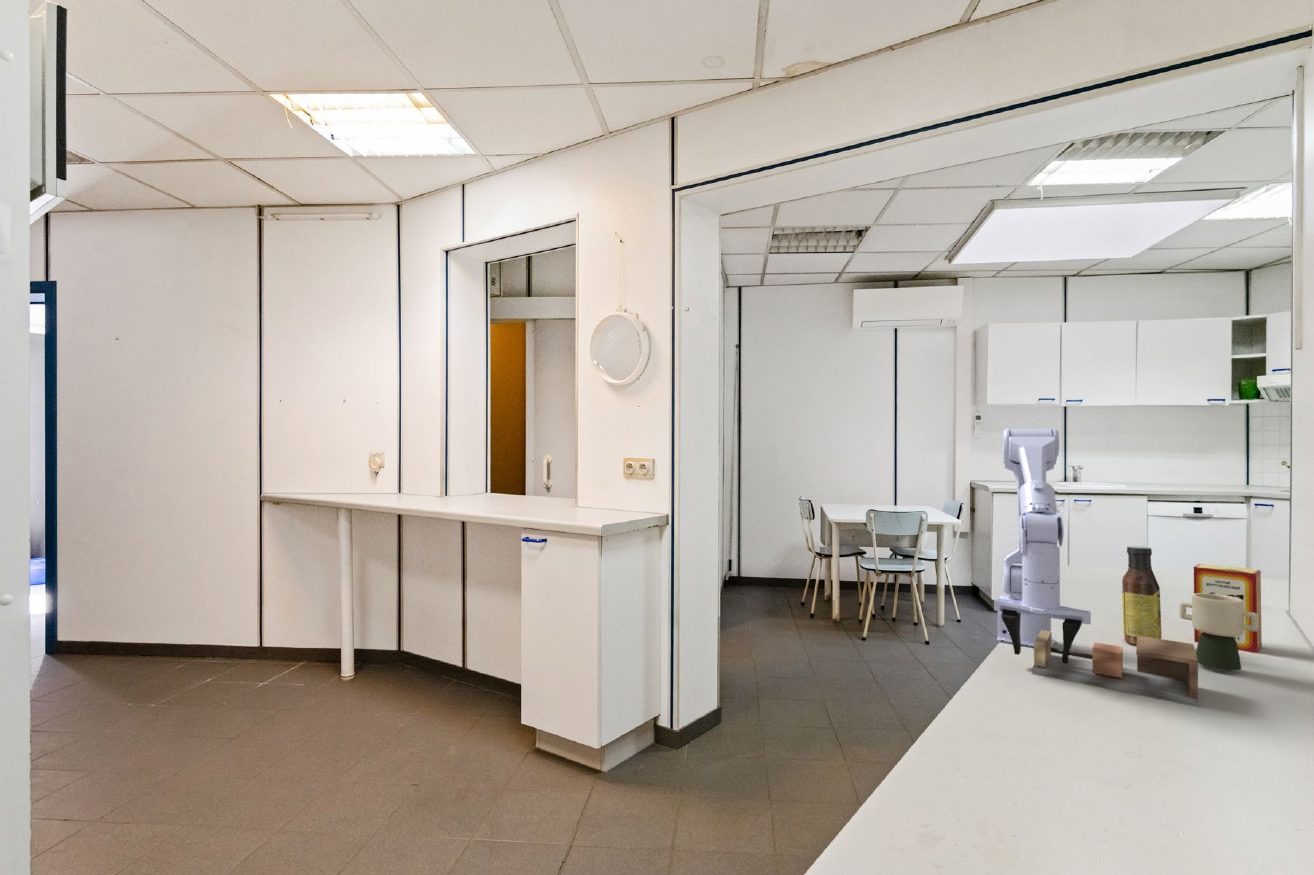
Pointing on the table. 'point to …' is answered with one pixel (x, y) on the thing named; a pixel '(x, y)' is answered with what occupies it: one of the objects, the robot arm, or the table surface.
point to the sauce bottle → (1140, 597)
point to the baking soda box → (1234, 585)
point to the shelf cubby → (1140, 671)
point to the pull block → (1082, 655)
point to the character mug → (1218, 628)
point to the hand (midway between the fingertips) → (1040, 657)
